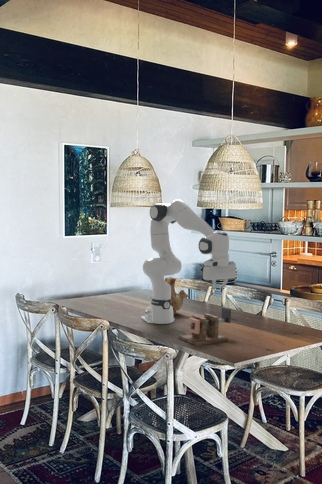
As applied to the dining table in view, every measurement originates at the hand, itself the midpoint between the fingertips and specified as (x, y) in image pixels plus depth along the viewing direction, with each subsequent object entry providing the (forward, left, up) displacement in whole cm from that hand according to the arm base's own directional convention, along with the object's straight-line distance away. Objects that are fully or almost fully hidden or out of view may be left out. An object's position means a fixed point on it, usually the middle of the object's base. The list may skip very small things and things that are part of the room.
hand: (219, 287), depth 279 cm
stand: (0, -9, -27) cm, 29 cm away
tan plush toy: (-62, +9, -27) cm, 68 cm away
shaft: (0, -7, -19) cm, 20 cm away
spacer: (0, -16, -19) cm, 25 cm away
